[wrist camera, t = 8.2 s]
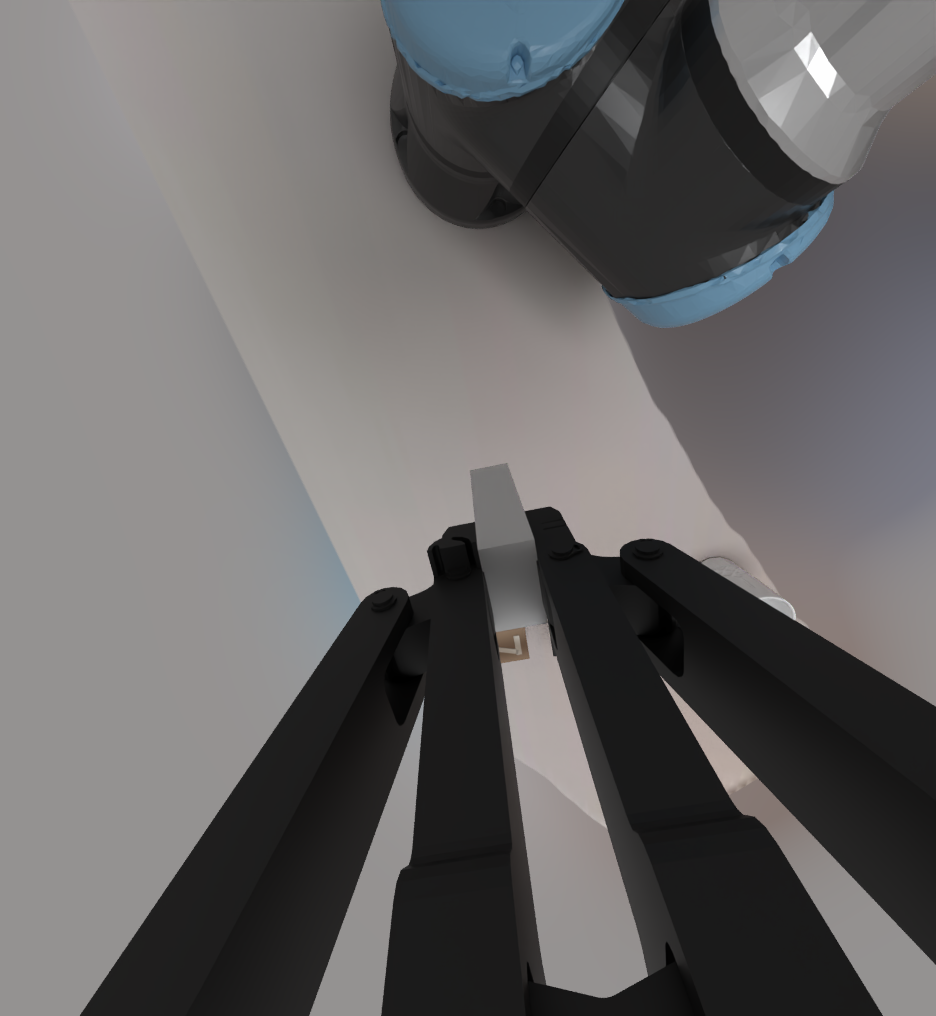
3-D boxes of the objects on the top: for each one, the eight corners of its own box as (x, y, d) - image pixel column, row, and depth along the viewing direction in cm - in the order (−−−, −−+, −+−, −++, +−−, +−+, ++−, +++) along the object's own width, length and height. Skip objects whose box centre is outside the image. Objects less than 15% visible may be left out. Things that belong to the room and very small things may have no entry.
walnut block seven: (482, 609, 59) (485, 634, 54) (518, 603, 58) (524, 628, 54) (488, 638, 61) (491, 665, 56) (523, 633, 60) (529, 659, 56)
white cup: (694, 612, 60) (738, 664, 51) (672, 571, 57) (715, 618, 48) (749, 585, 58) (804, 634, 49) (729, 542, 56) (784, 585, 47)
